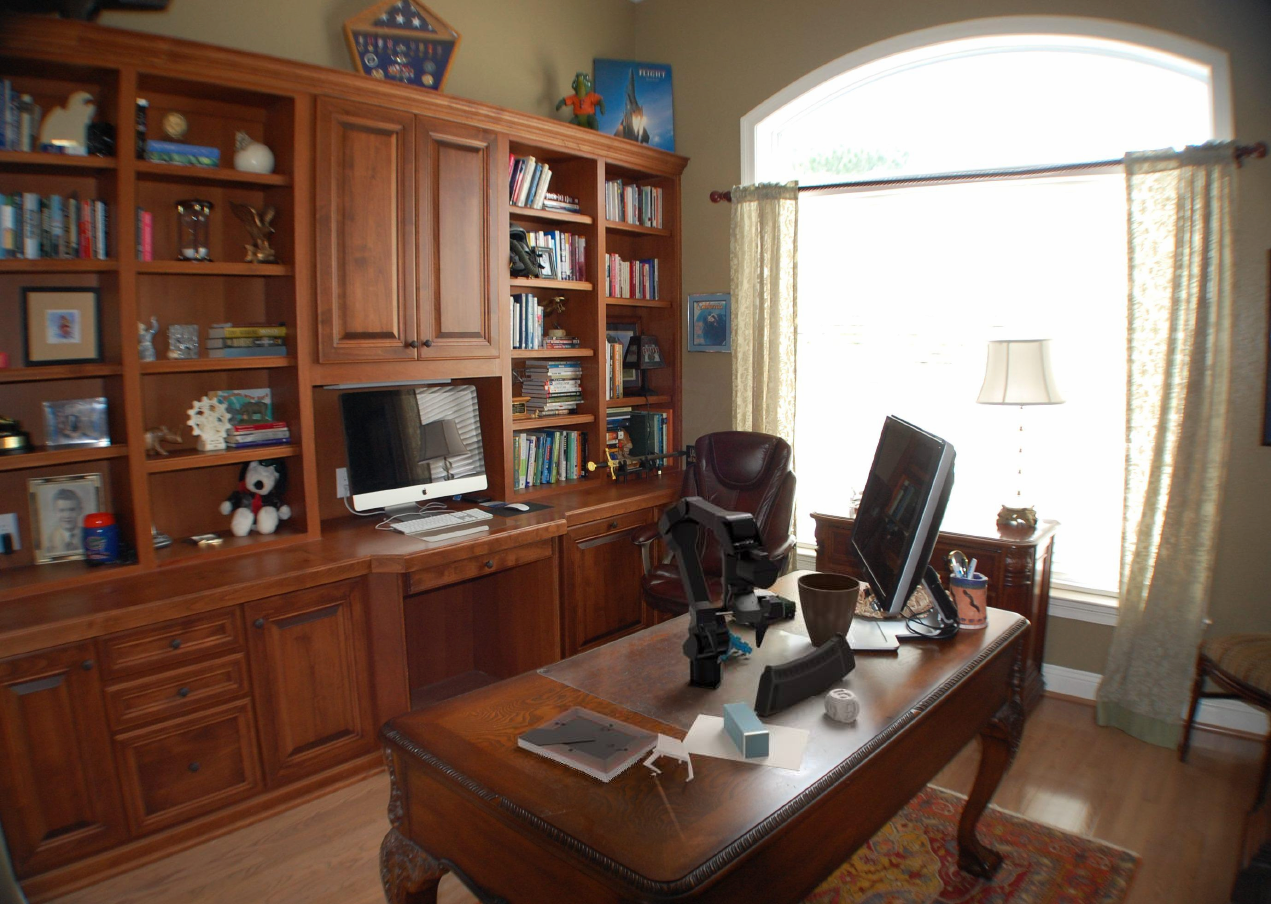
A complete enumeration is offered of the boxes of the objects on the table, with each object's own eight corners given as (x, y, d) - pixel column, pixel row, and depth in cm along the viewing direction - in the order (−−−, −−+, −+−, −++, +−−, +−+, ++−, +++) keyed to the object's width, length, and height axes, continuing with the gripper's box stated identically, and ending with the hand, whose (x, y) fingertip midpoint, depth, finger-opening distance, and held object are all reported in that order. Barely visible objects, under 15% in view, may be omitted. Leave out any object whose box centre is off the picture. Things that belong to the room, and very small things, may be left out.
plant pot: (811, 629, 209) (812, 569, 206) (867, 640, 200) (869, 578, 198) (786, 647, 197) (786, 584, 194) (845, 661, 188) (846, 594, 186)
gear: (762, 652, 189) (735, 629, 185) (749, 674, 187) (723, 651, 183) (732, 644, 199) (707, 621, 195) (720, 665, 197) (694, 642, 193)
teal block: (723, 726, 156) (744, 759, 144) (723, 704, 156) (745, 735, 144) (745, 723, 157) (769, 756, 145) (745, 701, 157) (769, 732, 144)
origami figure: (631, 770, 142) (630, 744, 142) (664, 753, 148) (664, 728, 147) (681, 798, 134) (680, 770, 133) (714, 778, 139) (714, 751, 139)
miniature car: (799, 618, 217) (799, 589, 216) (747, 632, 208) (747, 602, 207) (777, 609, 225) (777, 581, 224) (725, 621, 215) (725, 592, 214)
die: (844, 710, 164) (845, 686, 163) (859, 721, 159) (860, 697, 158) (823, 714, 162) (824, 691, 161) (838, 725, 157) (838, 701, 157)
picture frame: (518, 749, 152) (606, 786, 139) (517, 736, 151) (606, 772, 138) (576, 715, 165) (662, 747, 151) (576, 704, 164) (662, 734, 151)
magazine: (758, 683, 156) (846, 605, 173) (745, 677, 159) (833, 602, 176) (774, 753, 162) (858, 671, 179) (761, 747, 164) (845, 667, 181)
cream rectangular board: (677, 753, 148) (677, 750, 148) (699, 717, 162) (698, 714, 161) (798, 773, 140) (799, 770, 140) (810, 733, 154) (810, 730, 154)
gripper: (704, 591, 153) (704, 669, 155) (796, 583, 157) (795, 660, 159) (688, 574, 164) (688, 648, 166) (774, 567, 168) (773, 639, 170)
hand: (736, 649), depth 165 cm, fingers open, 9 cm apart
